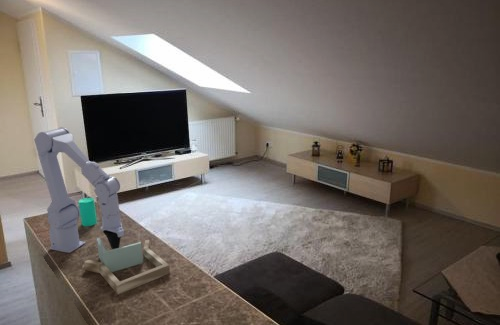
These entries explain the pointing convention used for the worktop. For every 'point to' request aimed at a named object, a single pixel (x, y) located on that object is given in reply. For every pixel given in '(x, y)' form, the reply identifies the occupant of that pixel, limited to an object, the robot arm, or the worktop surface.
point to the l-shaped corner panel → (120, 256)
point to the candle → (87, 211)
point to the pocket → (136, 280)
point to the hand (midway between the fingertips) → (115, 248)
